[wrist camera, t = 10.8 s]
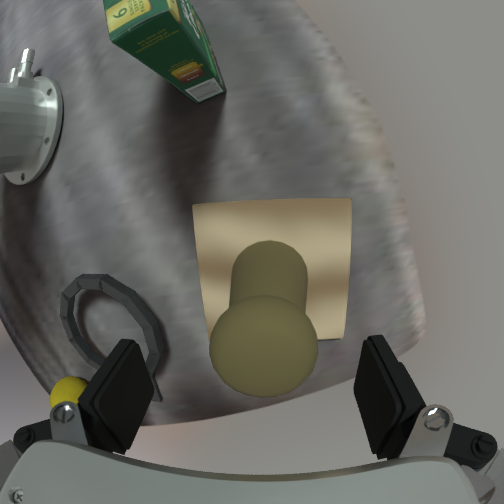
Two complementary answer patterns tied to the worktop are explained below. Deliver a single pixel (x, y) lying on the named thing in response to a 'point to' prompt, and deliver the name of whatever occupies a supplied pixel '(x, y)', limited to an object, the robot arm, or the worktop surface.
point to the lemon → (67, 390)
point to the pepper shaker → (265, 323)
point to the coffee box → (167, 43)
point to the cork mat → (282, 230)
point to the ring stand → (133, 306)
